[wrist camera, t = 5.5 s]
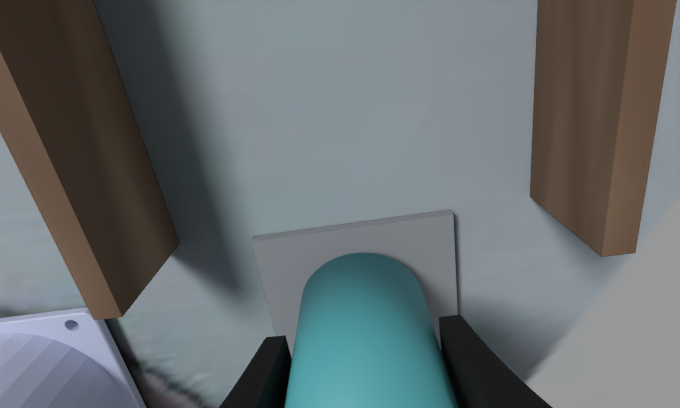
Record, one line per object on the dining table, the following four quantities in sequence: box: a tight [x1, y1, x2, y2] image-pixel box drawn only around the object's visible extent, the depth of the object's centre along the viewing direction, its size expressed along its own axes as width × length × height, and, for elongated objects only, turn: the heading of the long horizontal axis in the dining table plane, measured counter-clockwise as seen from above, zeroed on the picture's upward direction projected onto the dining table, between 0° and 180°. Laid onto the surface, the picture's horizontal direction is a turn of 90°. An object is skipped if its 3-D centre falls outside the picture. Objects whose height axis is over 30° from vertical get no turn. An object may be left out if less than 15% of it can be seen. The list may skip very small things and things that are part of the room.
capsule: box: [284, 252, 459, 408], centre depth 11 cm, size 4×4×6 cm
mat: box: [251, 210, 458, 358], centre depth 15 cm, size 7×6×1 cm
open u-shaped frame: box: [0, 0, 677, 320], centre depth 9 cm, size 14×13×4 cm
